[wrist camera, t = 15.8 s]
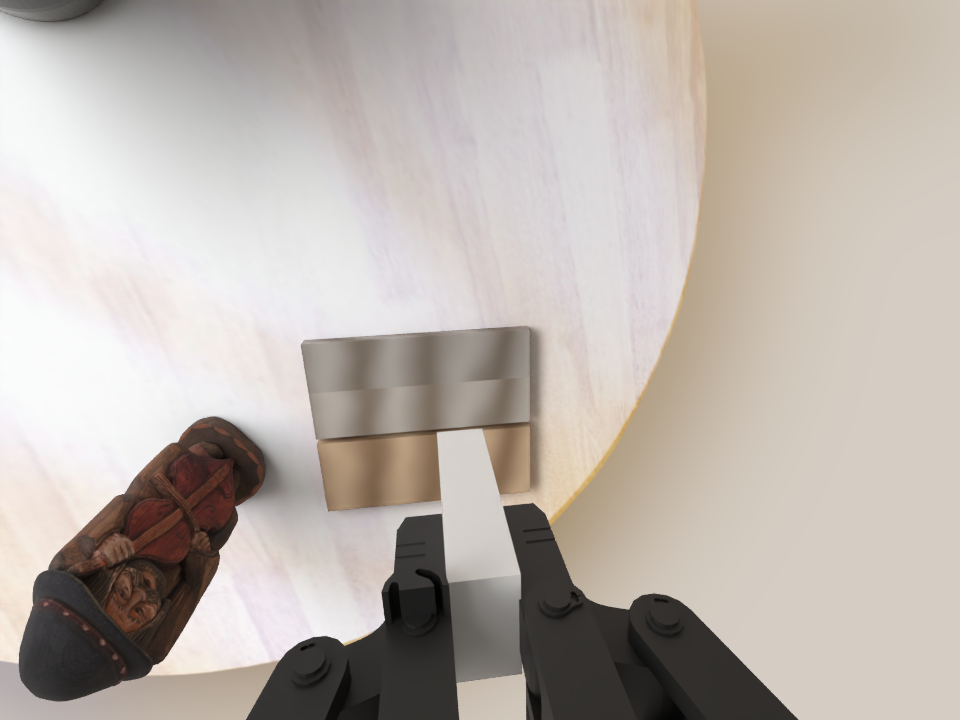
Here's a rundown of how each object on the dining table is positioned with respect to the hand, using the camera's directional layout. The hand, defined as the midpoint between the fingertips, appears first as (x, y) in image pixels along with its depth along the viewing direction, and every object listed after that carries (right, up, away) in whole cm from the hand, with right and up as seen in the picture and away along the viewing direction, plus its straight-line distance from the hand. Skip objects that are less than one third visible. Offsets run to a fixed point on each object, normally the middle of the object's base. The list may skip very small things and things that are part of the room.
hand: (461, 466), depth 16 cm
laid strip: (-5, +2, +33) cm, 34 cm away
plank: (-5, -8, +36) cm, 37 cm away
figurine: (-26, -6, +34) cm, 43 cm away
